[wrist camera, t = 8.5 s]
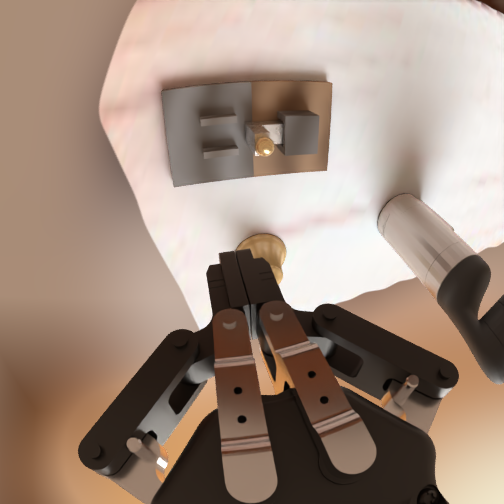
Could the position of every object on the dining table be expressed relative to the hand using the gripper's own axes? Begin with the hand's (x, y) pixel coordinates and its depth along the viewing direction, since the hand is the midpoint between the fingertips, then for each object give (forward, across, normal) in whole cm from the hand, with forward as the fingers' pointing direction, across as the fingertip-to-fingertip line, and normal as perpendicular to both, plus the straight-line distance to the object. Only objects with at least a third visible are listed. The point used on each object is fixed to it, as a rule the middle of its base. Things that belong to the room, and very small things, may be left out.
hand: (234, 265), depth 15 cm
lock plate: (+25, -6, 0) cm, 26 cm away
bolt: (+23, -9, 0) cm, 25 cm away
